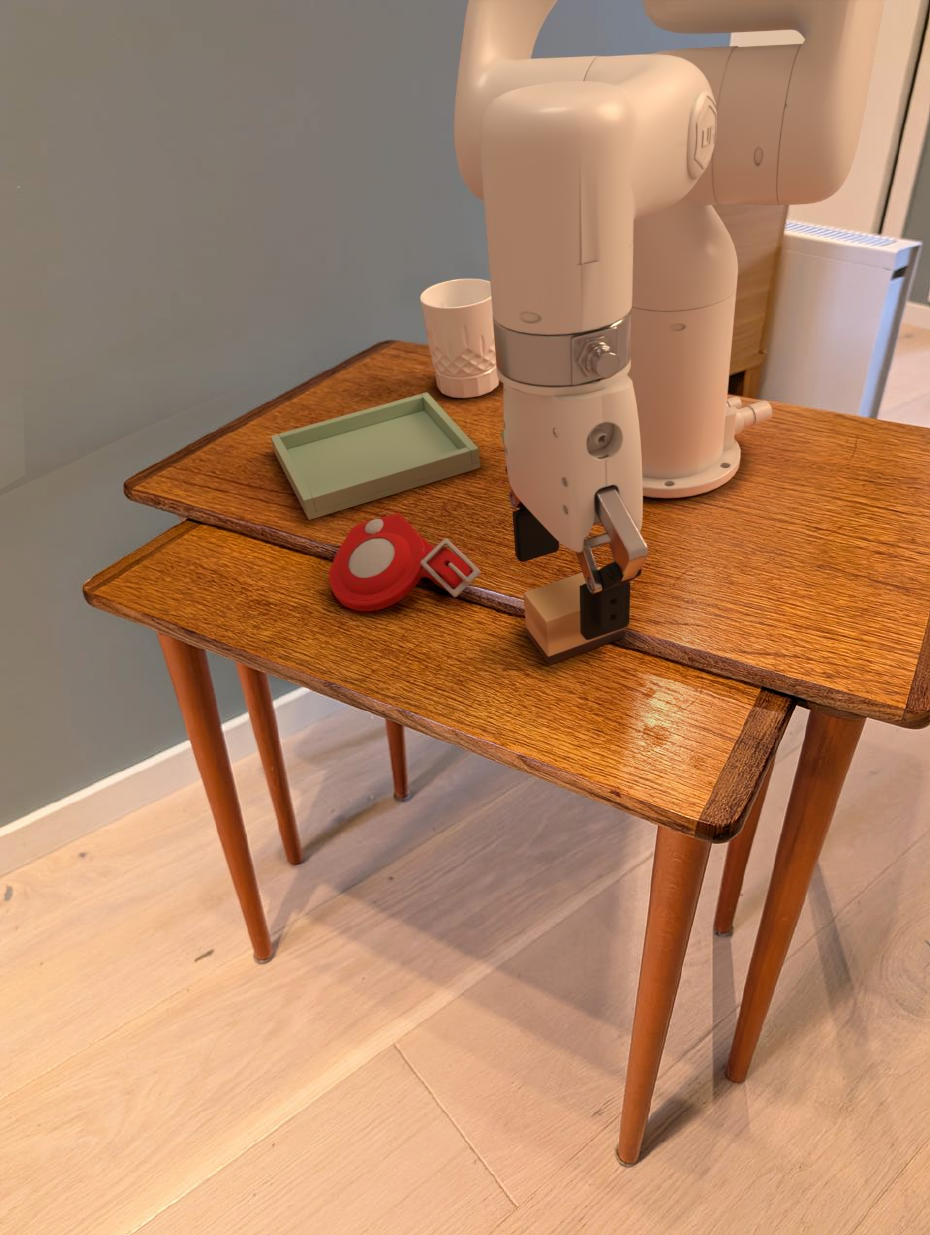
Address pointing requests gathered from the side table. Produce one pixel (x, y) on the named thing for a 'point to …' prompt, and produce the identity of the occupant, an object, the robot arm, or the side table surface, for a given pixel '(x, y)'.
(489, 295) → the white cup
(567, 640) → the eraser
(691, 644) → the side table surface
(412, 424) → the tray
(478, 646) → the side table surface
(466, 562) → the tracker holder
